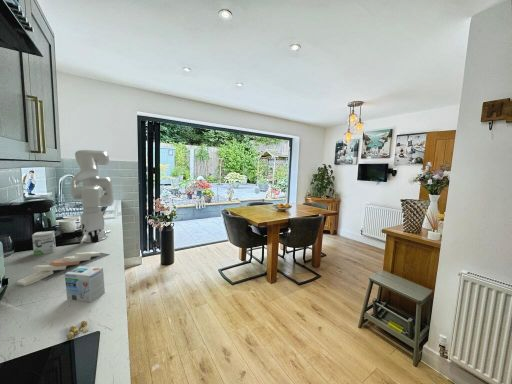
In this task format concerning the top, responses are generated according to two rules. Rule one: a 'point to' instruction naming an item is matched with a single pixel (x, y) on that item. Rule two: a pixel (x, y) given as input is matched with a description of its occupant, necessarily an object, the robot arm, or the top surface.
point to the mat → (73, 266)
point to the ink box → (44, 242)
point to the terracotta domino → (63, 263)
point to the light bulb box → (84, 283)
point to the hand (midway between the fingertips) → (94, 242)
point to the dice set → (76, 330)
